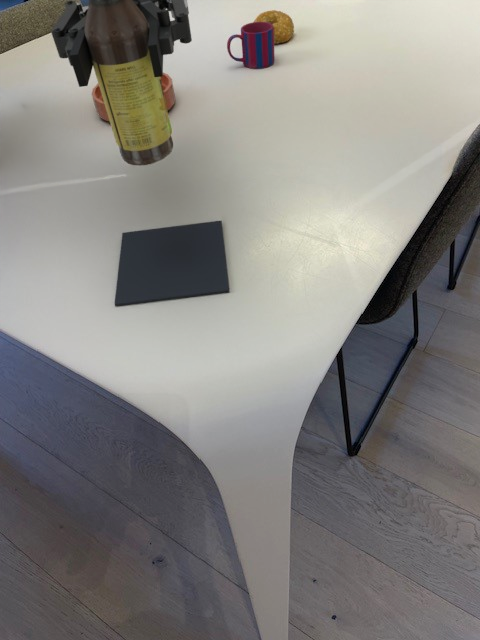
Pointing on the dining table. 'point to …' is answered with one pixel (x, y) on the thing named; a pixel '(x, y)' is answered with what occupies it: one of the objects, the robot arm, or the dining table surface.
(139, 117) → the sauce bottle
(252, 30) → the mug
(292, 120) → the dining table surface
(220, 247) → the mat
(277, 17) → the bagel
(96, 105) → the dish
